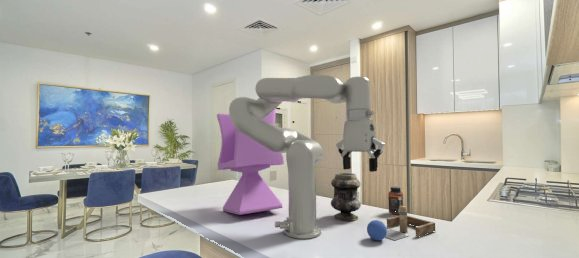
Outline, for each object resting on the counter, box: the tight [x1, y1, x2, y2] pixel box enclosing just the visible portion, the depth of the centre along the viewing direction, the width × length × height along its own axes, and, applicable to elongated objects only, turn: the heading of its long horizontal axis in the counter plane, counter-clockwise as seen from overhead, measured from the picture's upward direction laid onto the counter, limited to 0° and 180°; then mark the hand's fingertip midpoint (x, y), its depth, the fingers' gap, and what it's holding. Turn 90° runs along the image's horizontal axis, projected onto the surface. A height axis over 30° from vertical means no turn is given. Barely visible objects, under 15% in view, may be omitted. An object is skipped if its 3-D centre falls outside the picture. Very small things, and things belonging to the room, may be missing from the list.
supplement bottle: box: [387, 186, 404, 216], centre depth 112 cm, size 6×6×11 cm
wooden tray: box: [386, 215, 436, 238], centre depth 91 cm, size 10×12×3 cm
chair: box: [216, 108, 285, 216], centre depth 117 cm, size 22×22×45 cm
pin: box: [399, 205, 408, 233], centre depth 89 cm, size 2×2×8 cm
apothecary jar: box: [330, 172, 362, 222], centre depth 106 cm, size 12×12×18 cm
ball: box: [366, 219, 388, 241], centre depth 81 cm, size 6×6×6 cm
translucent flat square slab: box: [385, 228, 406, 241], centre depth 86 cm, size 8×7×1 cm
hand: (359, 170), depth 81 cm, fingers open, 9 cm apart
